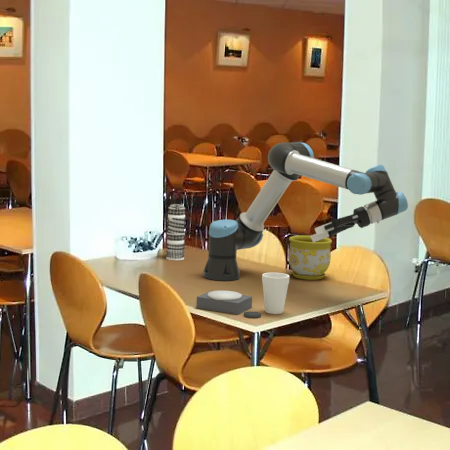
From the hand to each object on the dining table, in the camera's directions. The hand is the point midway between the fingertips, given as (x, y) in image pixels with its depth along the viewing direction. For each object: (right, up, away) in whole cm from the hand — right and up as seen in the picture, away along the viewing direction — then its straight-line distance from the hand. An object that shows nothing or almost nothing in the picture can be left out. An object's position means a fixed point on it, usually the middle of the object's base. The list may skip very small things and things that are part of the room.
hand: (313, 235), depth 302 cm
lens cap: (-23, -28, -21) cm, 42 cm away
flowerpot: (+3, -18, +48) cm, 51 cm away
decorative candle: (-55, -12, +75) cm, 94 cm away
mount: (-33, -25, -12) cm, 43 cm away
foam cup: (-15, -27, -14) cm, 34 cm away
